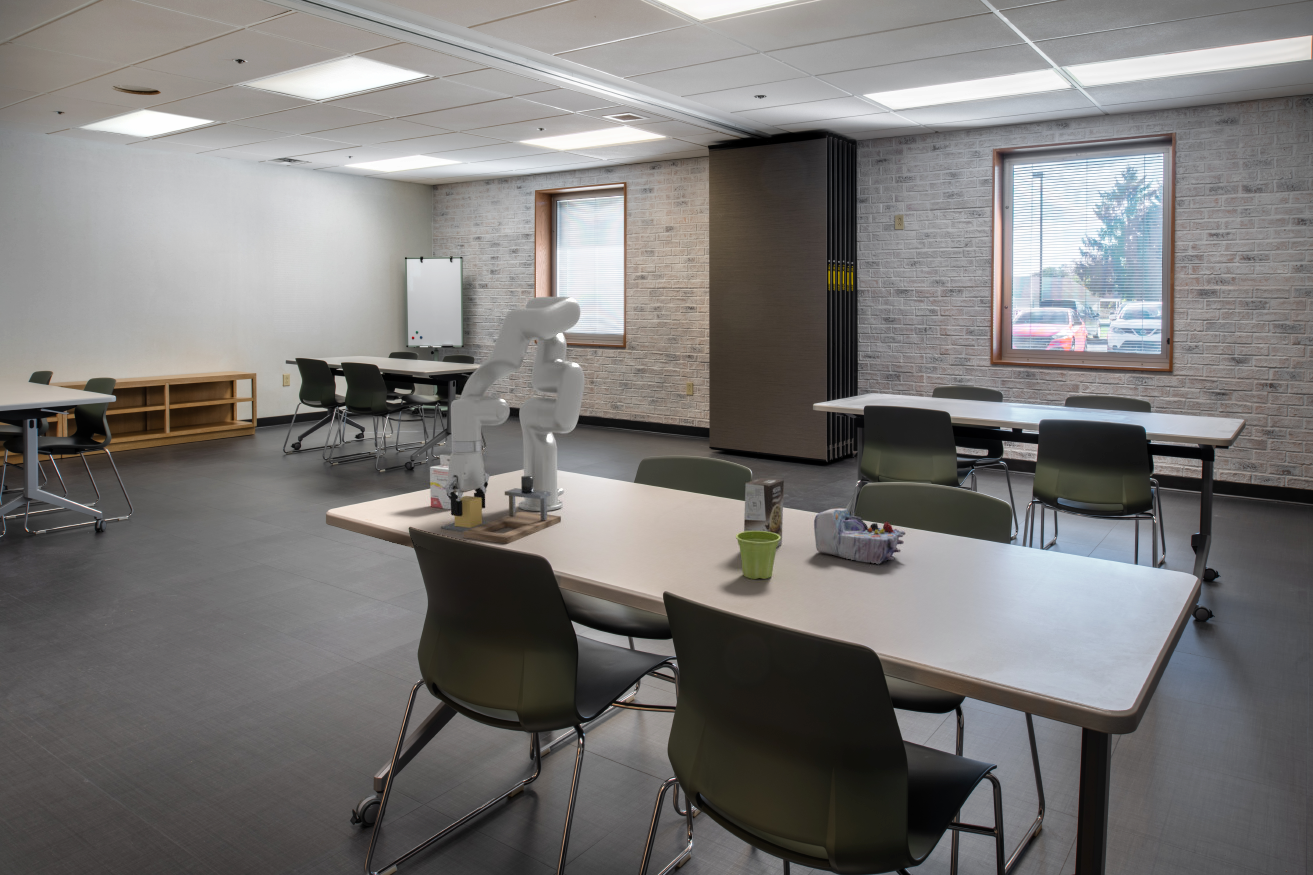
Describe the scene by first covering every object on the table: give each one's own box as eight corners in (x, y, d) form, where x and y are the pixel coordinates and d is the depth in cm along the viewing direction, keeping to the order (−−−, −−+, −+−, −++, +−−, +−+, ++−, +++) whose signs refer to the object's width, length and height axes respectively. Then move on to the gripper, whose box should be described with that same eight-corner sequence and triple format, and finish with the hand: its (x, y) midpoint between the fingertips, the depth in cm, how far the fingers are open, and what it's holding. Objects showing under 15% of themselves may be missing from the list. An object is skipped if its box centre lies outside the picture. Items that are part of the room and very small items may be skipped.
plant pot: (762, 585, 177) (763, 544, 175) (726, 575, 183) (727, 536, 182) (787, 575, 184) (789, 535, 182) (751, 566, 190) (752, 528, 189)
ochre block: (466, 521, 227) (465, 495, 226) (482, 523, 225) (481, 497, 224) (454, 525, 223) (454, 499, 222) (470, 527, 221) (470, 501, 220)
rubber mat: (464, 520, 231) (464, 518, 231) (495, 524, 226) (495, 522, 226) (440, 528, 222) (440, 526, 222) (472, 532, 217) (472, 531, 217)
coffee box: (767, 553, 201) (769, 485, 199) (742, 548, 204) (744, 482, 202) (783, 544, 209) (785, 479, 206) (759, 540, 212) (760, 476, 210)
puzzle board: (520, 516, 235) (519, 511, 235) (560, 521, 230) (560, 516, 229) (463, 537, 213) (463, 531, 212) (507, 543, 207) (507, 537, 207)
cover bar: (515, 513, 231) (515, 473, 230) (550, 517, 227) (550, 476, 225) (505, 517, 227) (504, 476, 225) (540, 521, 222) (540, 480, 221)
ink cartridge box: (429, 507, 246) (428, 456, 244) (441, 503, 250) (439, 454, 248) (453, 510, 242) (452, 458, 240) (464, 506, 247) (463, 456, 245)
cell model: (825, 500, 208) (909, 511, 199) (823, 543, 209) (906, 556, 200) (809, 510, 196) (897, 523, 187) (806, 556, 198) (894, 570, 189)
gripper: (475, 441, 230) (476, 503, 233) (433, 450, 215) (435, 517, 217) (498, 443, 227) (499, 506, 230) (457, 452, 212) (459, 520, 214)
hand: (468, 511), depth 224 cm, fingers open, 9 cm apart
